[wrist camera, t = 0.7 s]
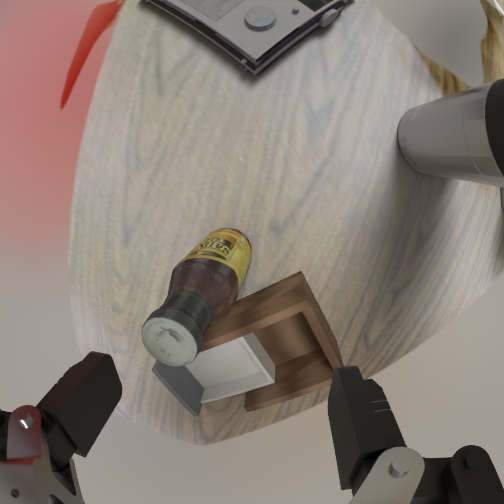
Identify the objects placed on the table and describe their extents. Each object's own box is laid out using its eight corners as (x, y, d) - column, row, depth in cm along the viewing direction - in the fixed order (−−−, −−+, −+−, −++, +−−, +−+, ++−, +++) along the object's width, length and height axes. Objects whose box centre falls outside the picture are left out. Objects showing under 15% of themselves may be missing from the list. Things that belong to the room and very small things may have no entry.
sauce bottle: (243, 219, 34) (201, 287, 15) (259, 265, 36) (239, 372, 17) (195, 234, 35) (112, 309, 16) (211, 278, 37) (154, 382, 18)
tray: (240, 313, 36) (233, 340, 30) (275, 365, 38) (274, 395, 32) (166, 343, 39) (151, 370, 33) (203, 388, 41) (194, 416, 35)
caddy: (301, 270, 35) (306, 299, 28) (336, 342, 38) (347, 378, 30) (209, 313, 38) (194, 346, 31) (252, 374, 41) (247, 411, 33)
